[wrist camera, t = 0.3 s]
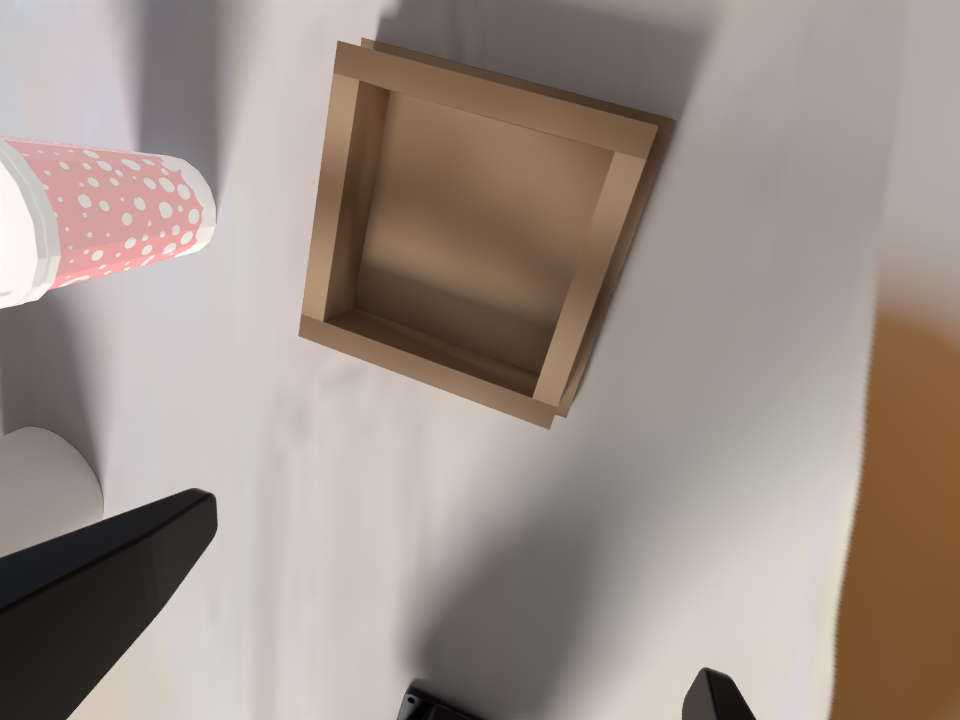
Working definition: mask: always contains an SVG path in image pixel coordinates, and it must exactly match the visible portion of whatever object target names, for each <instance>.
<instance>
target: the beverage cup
mask: <svg viewBox="0 0 960 720" xmlns="http://www.w3.org/2000/svg"><path fill="white" fill-rule="evenodd" d="M215 227H216V206H215V202H214V199H213V196H212V193H211V190H210V187H209V186H208V184H207V183H206V181H205V180H204V178H203V177H202V175H201V174H200V172H199V171H198V170H197V169H195V168H194V167H193V166H191V165H190V164H189V163H187V162H186V161H185V160H183V159H179V158H175V157H171V156H167V155H158V154H149V153H141V152H132V151H124V150H115V149H107V148H98V147H90V146H81V145H72V144H64V143H55V142H47V141H38V140H30V139H21V138H13V137H4V136H0V308H6V307H11V306H16V305H21V304H24V303H25V302H30V301H35V300H39V298H40V297H41V296H42V295H43V294H44V293H45V292H46V291H47V290H51V289H55V288H58V287H62V286H66V285H70V284H74V283H78V282H81V281H85V280H89V279H93V278H97V277H101V276H104V275H108V274H112V273H116V272H120V271H124V270H128V269H131V268H135V267H139V266H143V265H147V264H151V263H154V262H158V261H162V260H166V259H170V258H174V257H177V256H181V255H185V254H189V253H193V252H197V251H199V250H201V249H202V248H203V247H204V246H205V245H206V244H207V243H208V242H209V241H210V239H211V237H212V234H213V232H214V229H215Z"/></svg>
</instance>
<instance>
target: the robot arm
mask: <svg viewBox="0 0 960 720" xmlns="http://www.w3.org/2000/svg"><path fill="white" fill-rule="evenodd" d="M217 527H218V522H217V504H216V497H215V496H214V494H212V493H210V492H207V491H204V490H201V489H198V488H191V489H188V490H185V491H182V492H180V493H177V494H174V495H171V496H169V497H166V498H163V499H160V500H158V501H155V502H152V503H149V504H147V505H144V506H141V507H138V508H135V509H133V510H130V511H127V512H124V513H122V514H119V515H116V516H113V517H111V518H108V519H105V520H102V521H100V522H97V523H94V524H91V525H89V526H86V527H83V528H80V529H78V530H75V531H72V532H69V533H67V534H64V535H61V536H58V537H55V538H53V539H50V540H47V541H44V542H42V543H39V544H36V545H33V546H31V547H28V548H25V549H22V550H20V551H17V552H14V553H11V554H9V555H6V556H3V557H0V720H66V719H67V718H68V717H69V716H70V715H71V714H72V713H73V711H74V710H75V709H76V708H77V707H78V706H79V705H80V703H81V702H82V701H83V700H84V699H85V698H86V697H87V695H88V694H89V693H90V692H91V691H92V690H93V688H94V687H95V686H96V685H97V684H98V683H99V682H100V680H101V679H102V678H103V677H104V676H105V675H106V674H107V672H108V671H109V670H110V669H111V668H112V667H113V666H114V664H115V663H116V662H117V661H118V660H119V659H120V657H121V656H122V655H123V654H124V653H125V652H126V651H127V649H128V648H129V647H130V646H131V645H132V644H133V643H134V641H135V640H136V639H137V638H138V637H139V636H140V635H141V633H142V632H143V631H144V630H145V629H146V628H147V626H148V625H149V624H150V623H151V622H152V621H153V619H154V618H155V617H156V616H157V615H158V613H159V612H160V611H161V610H162V608H163V607H164V606H165V605H166V603H167V602H168V601H169V599H170V598H171V597H172V595H173V594H174V592H175V591H176V590H177V588H178V587H179V585H180V584H181V583H182V581H183V580H184V579H185V577H186V576H187V574H188V573H189V572H190V570H191V569H192V567H193V566H194V565H195V563H196V562H197V561H198V559H199V558H200V556H201V555H202V554H203V552H204V551H205V549H206V548H207V547H208V545H209V544H210V542H211V541H212V540H213V538H214V536H215V534H216V531H217ZM397 720H479V719H477V718H475V717H473V716H471V715H469V714H467V713H464V712H462V711H460V710H458V709H456V708H454V707H452V706H450V705H448V704H446V703H443V702H441V701H439V700H437V699H435V698H433V697H431V696H429V695H427V694H425V693H423V692H420V691H418V690H416V689H413V688H409V689H407V691H406V693H405V695H404V697H403V701H402V704H401V707H400V711H399V714H398V717H397ZM682 720H756V718H755V717H754V715H753V713H752V712H751V710H750V708H749V707H748V705H747V703H746V701H745V700H744V698H743V696H742V695H741V693H740V691H739V690H738V688H737V686H736V684H735V683H734V681H733V680H732V679H731V678H730V676H728V675H727V674H724V673H721V672H719V671H716V670H713V669H710V668H706V667H705V668H702V669H701V670H700V671H699V673H698V675H697V677H696V678H695V680H694V682H693V684H692V686H691V687H690V689H689V691H688V693H687V694H686V697H685V699H684V703H683V708H682Z"/></svg>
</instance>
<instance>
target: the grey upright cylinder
mask: <svg viewBox="0 0 960 720" xmlns="http://www.w3.org/2000/svg"><path fill="white" fill-rule="evenodd" d="M103 508H104V504H103V496H102V492H101V488H100V485H99V483H98V480H97V478H96V476H95V474H94V472H93V471H92V469H91V467H90V466H89V464H88V463H87V462H86V460H85V459H84V458H83V456H82V455H81V454H80V453H79V452H78V451H77V450H76V449H75V448H74V447H73V446H72V445H71V444H70V443H68V442H67V441H66V440H65V439H63V438H62V437H60V436H59V435H57V434H55V433H53V432H51V431H49V430H46V429H43V428H39V427H24V428H21V429H18V430H16V431H13V432H11V433H8V434H6V435H4V436H1V437H0V557H3V556H6V555H9V554H11V553H14V552H17V551H20V550H22V549H25V548H28V547H31V546H33V545H36V544H39V543H42V542H44V541H47V540H50V539H53V538H55V537H58V536H61V535H64V534H67V533H69V532H72V531H75V530H78V529H80V528H83V527H86V526H89V525H91V524H94V523H97V522H100V521H101V519H102V515H103Z"/></svg>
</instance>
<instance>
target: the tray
mask: <svg viewBox="0 0 960 720" xmlns="http://www.w3.org/2000/svg"><path fill="white" fill-rule="evenodd" d="M675 122H676V120H673V119H670V118H666V117H662V116H658V115H654V114H651V113H647V112H643V111H639V110H635V109H632V108H628V107H624V106H620V105H616V104H613V103H609V102H605V101H601V100H597V99H594V98H590V97H586V96H582V95H578V94H575V93H571V92H567V91H563V90H559V89H556V88H552V87H548V86H544V85H540V84H537V83H533V82H529V81H525V80H521V79H518V78H514V77H510V76H506V75H502V74H499V73H495V72H491V71H487V70H483V69H479V68H476V67H472V66H468V65H464V64H460V63H457V62H453V61H449V60H445V59H441V58H438V57H434V56H430V55H426V54H422V53H419V52H415V51H411V50H407V49H403V48H400V47H396V46H392V45H388V44H384V43H381V42H377V41H373V40H369V39H365V38H362V41H361V47H360V46H356V45H353V44H349V43H345V42H341V41H337V49H336V57H335V64H334V72H333V79H332V87H331V94H330V102H329V110H328V117H327V125H326V132H325V140H324V147H323V155H322V162H321V170H320V178H319V185H318V193H317V200H316V208H315V215H314V223H313V230H312V238H311V246H310V253H309V261H308V268H307V276H306V283H305V291H304V298H303V306H302V314H301V321H300V329H299V336H300V337H303V338H305V339H308V340H311V341H313V342H316V343H319V344H321V345H324V346H327V347H329V348H332V349H335V350H337V351H340V352H343V353H345V354H348V355H351V356H353V357H356V358H359V359H361V360H364V361H367V362H370V363H372V364H375V365H378V366H380V367H383V368H386V369H388V370H391V371H394V372H396V373H399V374H402V375H404V376H407V377H410V378H412V379H415V380H418V381H420V382H423V383H426V384H429V385H431V386H434V387H437V388H439V389H442V390H445V391H447V392H450V393H453V394H455V395H458V396H461V397H463V398H466V399H469V400H471V401H474V402H477V403H479V404H482V405H485V406H487V407H490V408H493V409H496V410H498V411H501V412H504V413H506V414H509V415H512V416H514V417H517V418H520V419H522V420H525V421H528V422H530V423H533V424H536V425H538V426H541V427H544V428H546V429H550V427H551V424H552V421H553V418H554V415H555V414H556V415H559V416H562V417H564V418H566V417H567V414H568V411H569V409H570V406H571V403H572V401H573V398H574V395H575V393H576V390H577V387H578V384H579V382H580V379H581V376H582V374H583V371H584V368H585V365H586V363H587V360H588V357H589V355H590V352H591V349H592V347H593V344H594V341H595V338H596V336H597V333H598V330H599V328H600V325H601V322H602V320H603V317H604V314H605V311H606V309H607V306H608V303H609V301H610V298H611V295H612V293H613V290H614V287H615V284H616V282H617V279H618V276H619V274H620V271H621V268H622V266H623V263H624V260H625V257H626V255H627V252H628V249H629V247H630V244H631V241H632V239H633V236H634V233H635V230H636V228H637V225H638V222H639V220H640V217H641V214H642V211H643V209H644V206H645V203H646V201H647V198H648V195H649V193H650V190H651V187H652V184H653V182H654V179H655V176H656V174H657V171H658V168H659V166H660V163H661V160H662V157H663V155H664V152H665V149H666V147H667V144H668V141H669V139H670V136H671V133H672V130H673V128H674V125H675Z"/></svg>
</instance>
